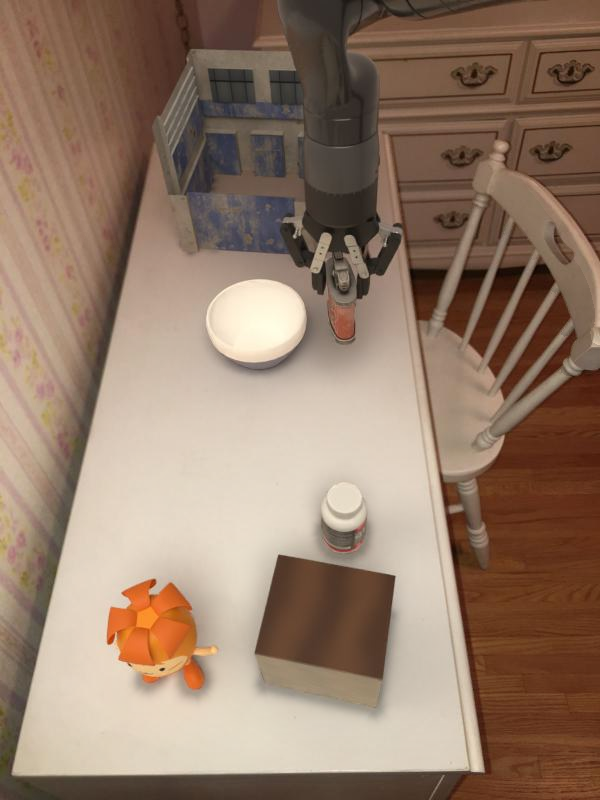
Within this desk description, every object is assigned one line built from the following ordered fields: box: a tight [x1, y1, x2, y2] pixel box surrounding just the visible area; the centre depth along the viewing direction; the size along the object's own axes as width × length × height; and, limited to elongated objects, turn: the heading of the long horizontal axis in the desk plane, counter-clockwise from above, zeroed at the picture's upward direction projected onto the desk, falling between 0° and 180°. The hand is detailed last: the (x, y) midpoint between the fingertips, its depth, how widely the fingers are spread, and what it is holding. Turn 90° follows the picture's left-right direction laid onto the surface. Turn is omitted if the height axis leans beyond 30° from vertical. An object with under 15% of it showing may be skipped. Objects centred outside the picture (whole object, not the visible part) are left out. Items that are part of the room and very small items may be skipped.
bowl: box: [205, 278, 308, 370], centre depth 95 cm, size 14×14×8 cm
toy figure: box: [106, 578, 219, 691], centre depth 66 cm, size 12×8×15 cm, turn 81°
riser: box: [254, 553, 397, 708], centre depth 67 cm, size 12×10×12 cm
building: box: [151, 48, 318, 256], centre depth 108 cm, size 23×24×23 cm
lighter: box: [325, 252, 357, 346], centre depth 78 cm, size 8×3×10 cm, turn 8°
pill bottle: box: [320, 481, 368, 555], centre depth 76 cm, size 5×5×10 cm
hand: (341, 291), depth 78 cm, fingers closed on lighter, 4 cm apart
